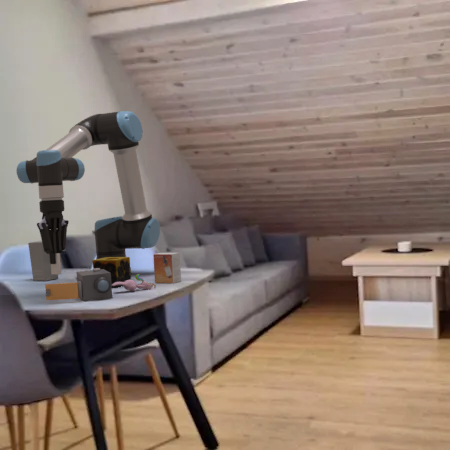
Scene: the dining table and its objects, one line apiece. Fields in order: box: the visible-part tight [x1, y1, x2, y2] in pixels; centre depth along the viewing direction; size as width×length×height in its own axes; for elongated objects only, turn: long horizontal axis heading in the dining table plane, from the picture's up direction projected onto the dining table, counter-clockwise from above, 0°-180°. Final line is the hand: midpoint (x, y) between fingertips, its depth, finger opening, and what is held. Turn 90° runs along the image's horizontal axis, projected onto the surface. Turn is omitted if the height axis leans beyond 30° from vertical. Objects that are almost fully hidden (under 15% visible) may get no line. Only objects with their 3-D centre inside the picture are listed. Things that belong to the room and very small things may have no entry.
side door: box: [44, 281, 82, 301], centre depth 205 cm, size 11×2×5 cm, turn 91°
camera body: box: [75, 268, 113, 302], centre depth 212 cm, size 14×9×9 cm, turn 21°
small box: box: [153, 252, 182, 284], centre depth 237 cm, size 8×6×10 cm
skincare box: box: [27, 240, 59, 282], centre depth 264 cm, size 8×7×16 cm
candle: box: [91, 256, 132, 289], centre depth 236 cm, size 10×10×10 cm
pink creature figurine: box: [112, 273, 156, 292], centre depth 221 cm, size 6×6×15 cm
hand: (56, 273), depth 209 cm, fingers closed
